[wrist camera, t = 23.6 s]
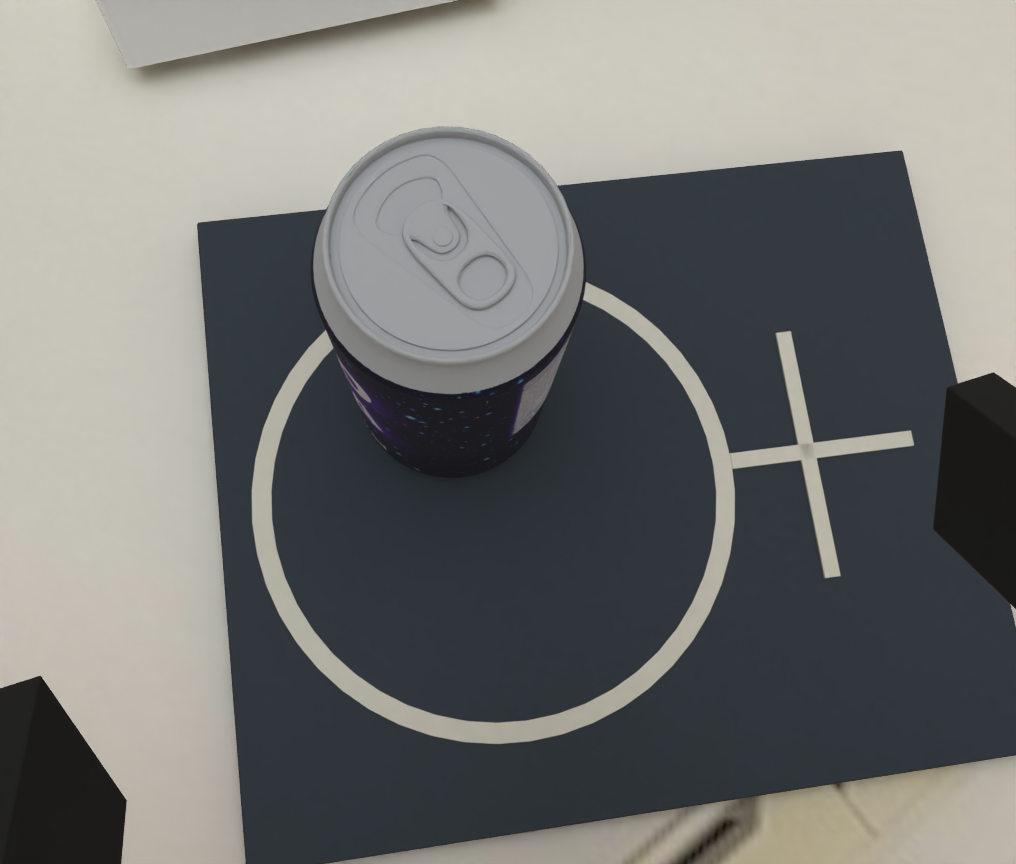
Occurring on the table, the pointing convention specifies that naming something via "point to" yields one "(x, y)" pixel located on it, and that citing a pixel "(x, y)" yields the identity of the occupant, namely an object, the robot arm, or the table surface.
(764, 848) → the table surface
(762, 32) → the table surface
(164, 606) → the table surface
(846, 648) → the desk pad
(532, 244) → the beverage can
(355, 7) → the bracket
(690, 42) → the table surface
